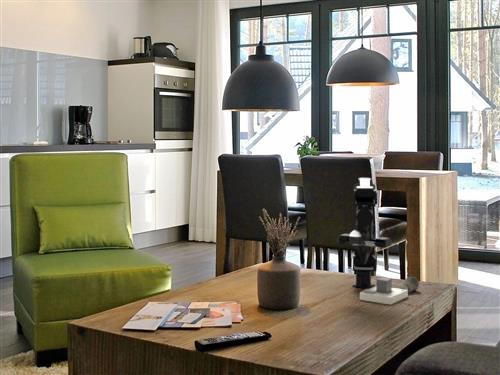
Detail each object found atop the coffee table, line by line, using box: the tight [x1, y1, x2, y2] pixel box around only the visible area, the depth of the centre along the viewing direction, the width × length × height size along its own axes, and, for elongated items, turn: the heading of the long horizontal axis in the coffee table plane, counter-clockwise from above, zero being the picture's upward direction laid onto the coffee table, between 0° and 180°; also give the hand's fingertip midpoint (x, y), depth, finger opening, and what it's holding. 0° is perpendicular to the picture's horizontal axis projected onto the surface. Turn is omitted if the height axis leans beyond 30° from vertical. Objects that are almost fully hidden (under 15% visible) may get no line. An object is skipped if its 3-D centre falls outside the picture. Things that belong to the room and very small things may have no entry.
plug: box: [375, 277, 393, 294], centre depth 251 cm, size 4×4×7 cm
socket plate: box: [359, 285, 409, 305], centre depth 251 cm, size 14×12×3 cm
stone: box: [399, 276, 420, 294], centre depth 261 cm, size 10×5×8 cm
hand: (363, 264), depth 253 cm, fingers closed
